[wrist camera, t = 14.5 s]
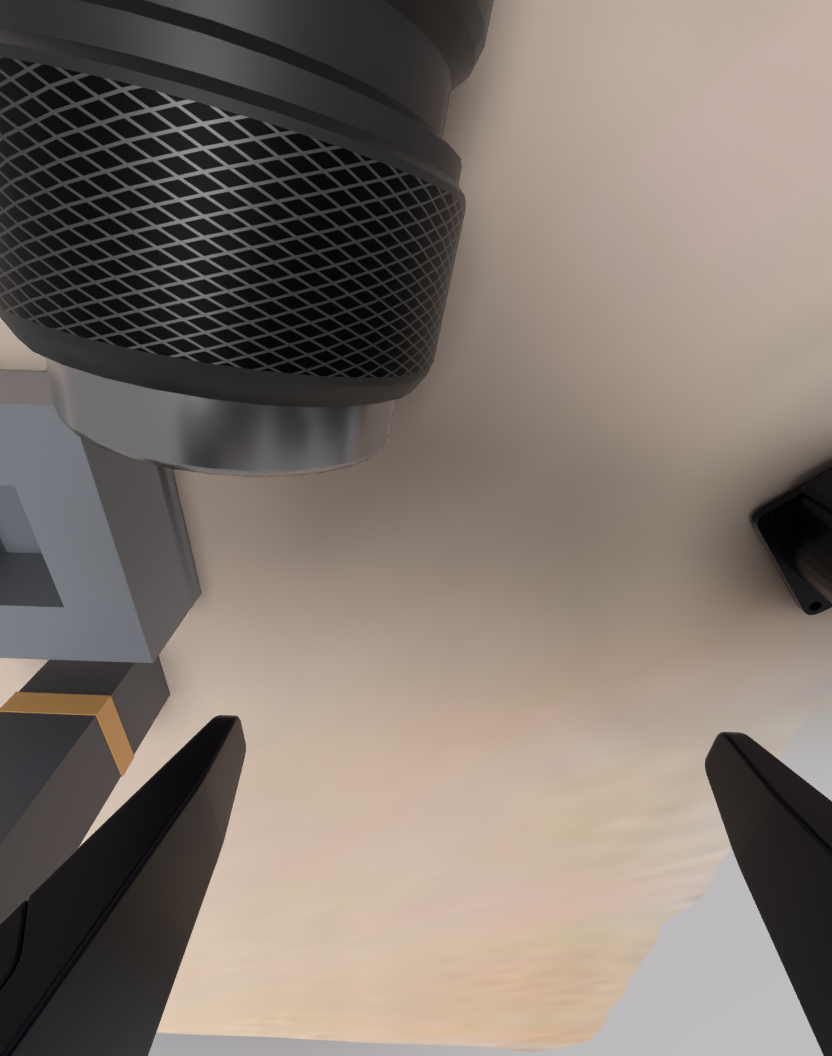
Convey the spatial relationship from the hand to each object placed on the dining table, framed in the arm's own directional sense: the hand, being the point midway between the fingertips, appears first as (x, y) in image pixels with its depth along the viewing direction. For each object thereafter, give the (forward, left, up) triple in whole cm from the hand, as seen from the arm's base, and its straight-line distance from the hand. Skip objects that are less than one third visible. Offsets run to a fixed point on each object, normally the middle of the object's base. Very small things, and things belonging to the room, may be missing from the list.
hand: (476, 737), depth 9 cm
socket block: (+10, +13, -12) cm, 20 cm away
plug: (+2, +19, -12) cm, 23 cm away
